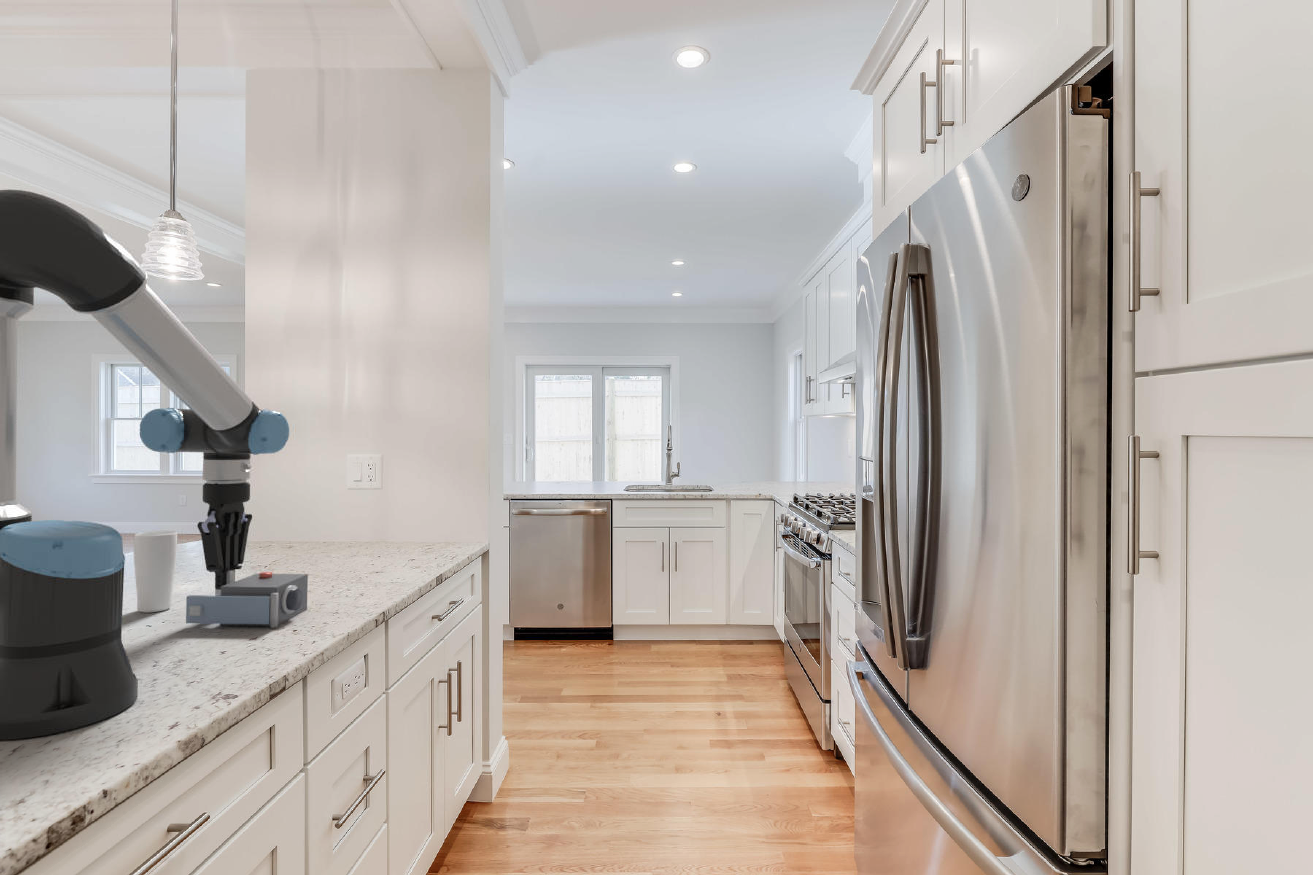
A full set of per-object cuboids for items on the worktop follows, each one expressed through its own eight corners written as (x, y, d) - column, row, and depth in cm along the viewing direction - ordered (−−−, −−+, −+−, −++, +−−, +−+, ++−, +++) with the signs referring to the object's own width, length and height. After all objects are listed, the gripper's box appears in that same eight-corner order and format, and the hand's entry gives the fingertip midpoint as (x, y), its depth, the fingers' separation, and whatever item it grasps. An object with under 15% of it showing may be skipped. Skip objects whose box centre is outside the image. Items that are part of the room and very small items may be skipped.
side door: (273, 628, 114) (274, 595, 114) (183, 627, 113) (183, 593, 113) (279, 625, 116) (279, 592, 116) (189, 624, 115) (190, 591, 115)
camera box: (283, 626, 116) (284, 583, 116) (218, 625, 115) (219, 582, 115) (315, 609, 127) (316, 570, 127) (255, 608, 127) (256, 569, 127)
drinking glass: (185, 605, 128) (186, 531, 128) (155, 615, 121) (156, 536, 121) (154, 604, 128) (155, 529, 128) (122, 613, 122) (124, 535, 122)
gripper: (225, 484, 115) (222, 614, 115) (266, 479, 128) (264, 596, 129) (182, 483, 115) (180, 614, 115) (228, 478, 128) (226, 595, 128)
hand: (224, 604), depth 122 cm, fingers closed
